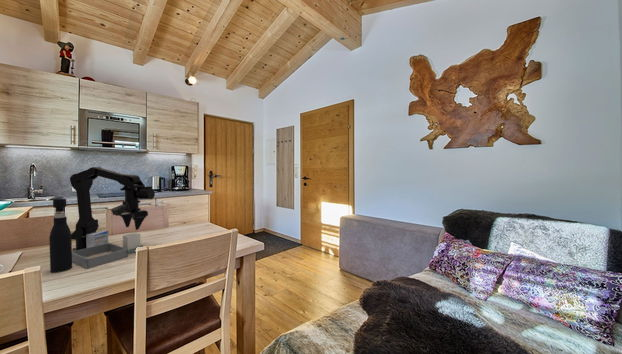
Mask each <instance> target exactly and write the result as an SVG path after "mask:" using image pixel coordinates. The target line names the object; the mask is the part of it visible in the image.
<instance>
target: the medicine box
mask: <svg viewBox="0 0 622 354" xmlns="http://www.w3.org/2000/svg"><path fill="white" fill-rule="evenodd" d="M107 243H109V231H108V230H99V231H98V230H97V231H96V232H95V233H91V234H87V235H86V244H87V248H89V247H94V246H98V245H102V244H107Z"/></svg>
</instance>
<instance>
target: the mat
mask: <svg viewBox="0 0 622 354" xmlns="http://www.w3.org/2000/svg"><path fill="white" fill-rule="evenodd" d="M143 246H144V245H142V244H140V247H143ZM135 250H136V248H134V249H130V250H128V255H130V254H134V253H136V252H135Z"/></svg>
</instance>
